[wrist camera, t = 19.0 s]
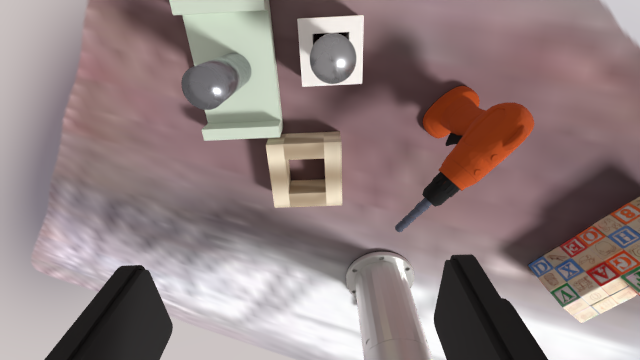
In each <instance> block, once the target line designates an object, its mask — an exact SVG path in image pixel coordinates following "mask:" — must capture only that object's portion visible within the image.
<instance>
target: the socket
mask: <svg viewBox="0 0 640 360" xmlns="http://www.w3.org/2000/svg"><path fill="white" fill-rule="evenodd" d="M266 151H267V158H268V164H269V171H270V178H271V185H272V192H273V199H274V206H275V208H280V207H307V206H334V205H342V163H341V137H340V131H338V132H316V133H293V134H281V135H280V137H275V138H268V141H267V143H266ZM323 158H324V160H325V179H317V180H292V181H291V175H290V165H289V160H299V159H323Z"/></svg>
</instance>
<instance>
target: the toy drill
mask: <svg viewBox="0 0 640 360" xmlns="http://www.w3.org/2000/svg"><path fill="white" fill-rule="evenodd" d="M478 106H479V97H478V95H477V94H476V92H474V91H473V90H472V89H471V88H469V87H466V86H459V87H456V88H454V89H452V90H450V91H448V92H447V93H446V94H444V95H443V96H442V97H440V98H439V99H438V100H437V101H436V102H435V103H434V104H433V105H432V106H431V107H430V108H429V109H428V110H427V112H426V113H425V115H424V118H423V126H424V128H425V130H426V131H427V132H428V133H429V134H430V135H431V136H433V137H435V138H442V137H444V136H446V135H448V134H450V135H449V137H448V139H447V142H446V146H449V145H452V144H457V145H456V146H455V148H454V149H453V150H452V151H451V153H450V154H449V155H448V157H447V158H446V159H445V161H444V162H443V164H442V166H441V168H440V169H439V171H440V173H439V174H438V175H437V176H436V177H435V178H434V179H433V180H432V182H431V183H430V184H429V185H428V186H427V187H426V188H425V189H424V191H423V196H424V197H425V198H424V199H423V200H422V201H421V202H420V203H418V204H417V205H416V207H415V208H414V209H413V210H412V211H411V212H410V213H409V214H408V215H407V216H405V217H404V218H403V219H402V221H400V222H399V223H398V224H397V225H396V226H395V229H396V231H398V232H402V231H403V229H404V228H406V227H407V226H408V225H409V224H410V223H412V222H413V221H414V220H415V219H416V217H418V216H419V215H421V214H422V213H423V212H424V211H426V210H427V209H428V208H429V206H430V205H431V204H432V205H434V206H439V205H441V204H442V203H444V202H445V201H446V200H447V199H448V198H449V197H452V196H453V195H454V194H455V193H456V192H458V191H459V190H461V191H463V190H464V189H465V188H466V187H469V186H471V185H473V184H475V183H477V182H478V181H479V180H481V179H482V178H483V177H484V176H485V175H486V174H487V173H489V172H490V171H491V170H492V169H493V168H494V167H496V166H497V165H498V164H499V163H500V162H502V161H503V160H504V159H505V158H506V157H507V156H508V155H509V154H511V153H512V152H513V151H514V150H515V149H516V148H517V147H518V146H519V145H520V144H521V143H522V142H523V141H524V140H525V139H526V138H527V137H528V135H529V134H530V133H531V131H532V130H533V127H534V120H533V117H532V115H531V113H530V112H529V111H528V109H527V108H525V107H524V106H522V105H520V104H517V103H502V104H497V105H495V106H492V107H491V108H489V109H488V110H487V111H485V110H482V109H480V108H478Z"/></svg>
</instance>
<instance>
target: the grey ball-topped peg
mask: <svg viewBox="0 0 640 360" xmlns="http://www.w3.org/2000/svg"><path fill="white" fill-rule="evenodd" d="M356 59H357V58H356V51H355V48H354V46H353V45H352V43H351V42H350V41H349V40H348V39H347V38H346V37H344V36H343V35H340V34H336V33H331V34H326V35H324V36H322V37H320V38H319V39H318V40H317V41H316V42H315V44H314V45H313V47H312V50H311V53H310V66H311V69H312V71H313V73H314V74H315V76H316V77H317V78H318V79H319V80H321V81H323V82H325V83H328V84H337V83H340V82H343V81H345V80H346V79H347V78H348V77H349V76H350V75H351V74H352V72H353V71H354V69H355V66H356Z"/></svg>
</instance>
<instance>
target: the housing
mask: <svg viewBox="0 0 640 360" xmlns="http://www.w3.org/2000/svg"><path fill="white" fill-rule="evenodd" d="M297 22H298V35H299V49H300V62H301V76H302V87H306V86H327V85H348V84H362V73H363V22H364V15H353V16H334V17H316V18H299V19H297ZM338 32H346V38H347V39H348V40H349V41H350V42H351V43H352V45H353V46H354V48H355V51H356V58H357V59H356V66H355V69H354V71H353V72H352V74H351V75H350V76H349V77H348V78H347V79H346V80H345V81H343V82H340V83H337V84H328V83H325V82H323V81H321V80H319V79H318V78H317V77H316V76H315V74H314V73H313V71H312V69H311V66H310V53H311V50H312V47H313V45H314V34H320V33H338Z"/></svg>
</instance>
